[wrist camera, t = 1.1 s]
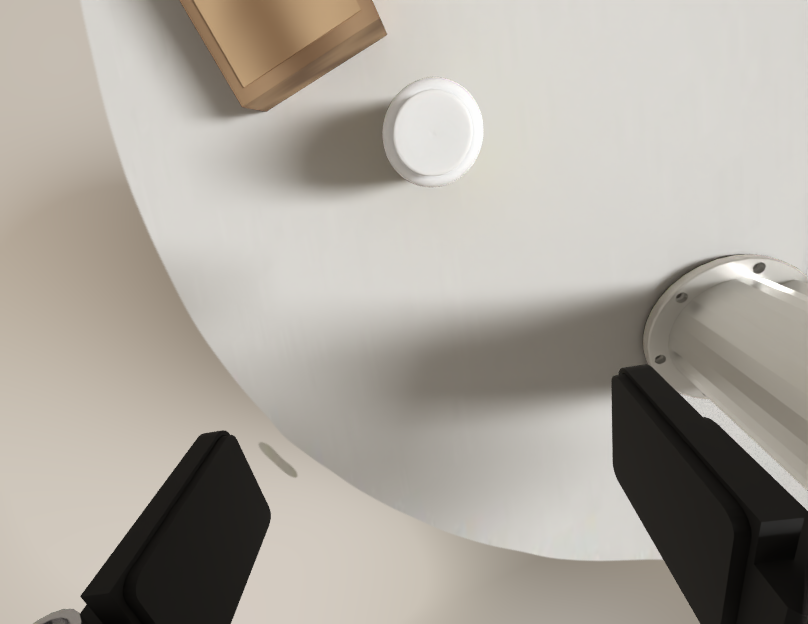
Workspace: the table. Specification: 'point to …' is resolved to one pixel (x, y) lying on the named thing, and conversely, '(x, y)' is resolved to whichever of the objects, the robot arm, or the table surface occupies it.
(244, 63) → the base
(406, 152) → the supplement bottle
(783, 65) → the table surface
